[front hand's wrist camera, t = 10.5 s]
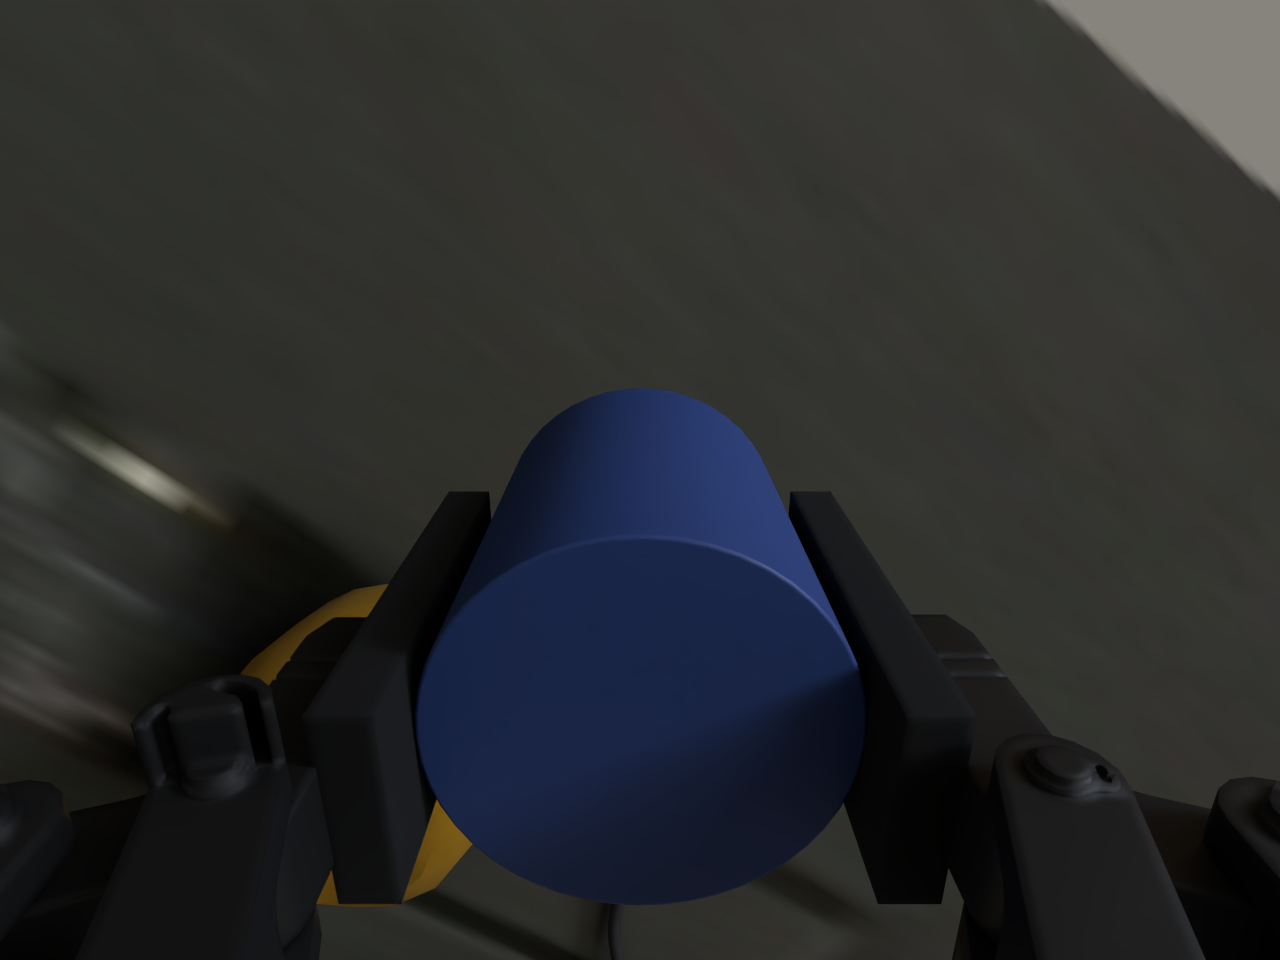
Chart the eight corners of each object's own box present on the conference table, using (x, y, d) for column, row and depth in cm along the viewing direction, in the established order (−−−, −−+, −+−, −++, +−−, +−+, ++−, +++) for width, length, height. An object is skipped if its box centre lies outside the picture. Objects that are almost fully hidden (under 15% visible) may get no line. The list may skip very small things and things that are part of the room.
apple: (576, 627, 36) (544, 835, 24) (448, 761, 39) (364, 1008, 27) (389, 492, 34) (251, 650, 22) (267, 646, 37) (86, 861, 25)
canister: (829, 497, 16) (964, 709, 9) (661, 675, 17) (673, 965, 11) (615, 330, 14) (595, 437, 8) (455, 538, 16) (328, 771, 9)
